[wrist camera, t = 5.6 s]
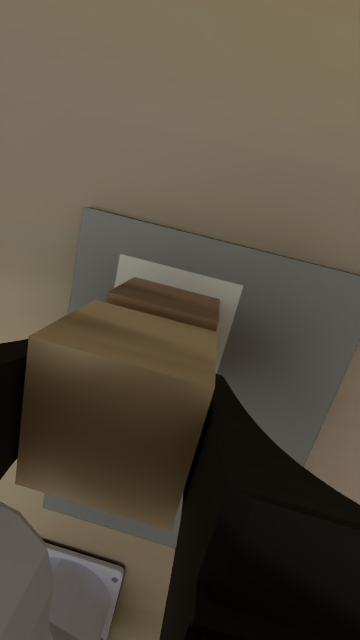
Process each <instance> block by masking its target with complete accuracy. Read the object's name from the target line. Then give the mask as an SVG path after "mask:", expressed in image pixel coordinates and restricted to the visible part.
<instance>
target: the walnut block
mask: <svg viewBox="0 0 360 640" xmlns="http://www.w3.org/2000/svg"><path fill="white" fill-rule="evenodd" d="M106 303H109V304H113V305H117V306H121V307H125V308H128V309H132V310H136V311H140V312H143V313H147V314H151V315H155V316H158V317H162V318H166V319H170V320H174V321H177V322H181V323H185V324H189V325H192V326H196V327H200V328H204V329H207V330H211V331H215V332H216V330H217V326H218V323H219V304H220V299H217V298H214V297H210V296H206V295H202V294H198V293H194V292H191V291H187V290H183V289H179V288H175V287H171V286H168V285H164V284H160V283H156V282H152V281H148V280H145V279H141V278H137V277H133V278H132V279H130V280H128V281H126V282H124V283H123V284H121V285H119V286H117V287H115V288H114V289H112V290H110V291H108V292H107V298H106Z"/></svg>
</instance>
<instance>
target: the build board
mask: <svg viewBox="0 0 360 640" xmlns="http://www.w3.org/2000/svg"><path fill="white" fill-rule="evenodd" d="M133 277H137V278H141V279H145V280H148V281H152V282H156V283H160V284H164V285H168V286H171V287H175V288H179V289H183V290H187V291H191V292H194V293H198V294H202V295H206V296H210V297H214V298H217V299H220V304H219V323H218V326H217V330H216V332H217V353H216V374H219V375H222V376H223V377H224V378H225V380H226V381H227V383H228V385H229V386H230V388H231V389H232V391H233V393H234V394H235V396H236V397H237V399H238V400H239V401H240V403H241V404H242V406H243V407H244V408H245V410H246V411H247V412H248V414H249V415H250V416H251V417H252V419H253V420H254V421H255V422H256V423H257V425H258V426H259V427H260V428H261V429H262V430H263V431H264V432H265V433H266V434H267V435H268V436H269V437H270V438H271V439H272V440H273V441H274V442H275V443H276V444H277V445H278V446H279V447H280V448H281V449H282V450H283V451H284V452H286V453H287V454H288V455H289V456H290V457H292V458H293V459H294V460H295V461H296V462H298V463H299V464H300V465H301V466H303V467H304V465H305V462H306V460H307V458H308V456H309V453H310V451H311V449H312V447H313V444H314V442H315V440H316V438H317V435H318V433H319V431H320V429H321V426H322V424H323V422H324V420H325V417H326V415H327V413H328V411H329V408H330V406H331V404H332V401H333V399H334V397H335V395H336V392H337V390H338V388H339V386H340V383H341V381H342V379H343V377H344V374H345V372H346V370H347V368H348V365H349V363H350V361H351V359H352V356H353V354H354V352H355V350H356V347H357V345H358V343H359V341H360V275H356V274H352V273H348V272H344V271H340V270H336V269H332V268H328V267H324V266H320V265H316V264H312V263H308V262H304V261H300V260H296V259H292V258H288V257H284V256H280V255H276V254H272V253H268V252H264V251H260V250H256V249H252V248H248V247H244V246H240V245H236V244H232V243H229V242H225V241H221V240H217V239H213V238H209V237H205V236H201V235H197V234H193V233H189V232H185V231H181V230H177V229H173V228H169V227H165V226H161V225H157V224H153V223H149V222H145V221H141V220H137V219H133V218H129V217H125V216H121V215H117V214H113V213H109V212H105V211H101V210H97V209H93V208H89V207H83V208H82V215H81V223H80V230H79V238H78V245H77V253H76V261H75V268H74V276H73V283H72V291H71V298H70V306H69V314H70V313H71V312H73V311H75V310H77V309H79V308H80V307H82V306H84V305H86V304H88V303H89V302H91V301H93V300H98V301H102V302H106V298H107V292H108V291H110V290H112V289H114V288H115V287H117V286H119V285H121V284H123V283H124V282H126V281H128V280H130V279H132V278H133ZM182 502H183V494H182V498H181V501H180V504H179V508H178V511H177V514H176V517H175V521H174V524H173V527H172V531H169V530H166V529H163V528H159V527H156V526H153V525H149V524H146V523H143V522H140V521H136V520H133V519H130V518H126V517H123V516H120V515H117V514H113V513H110V512H107V511H103V510H100V509H97V508H93V507H90V506H87V505H84V504H80V503H77V502H74V501H70V500H67V499H64V498H61V497H57V496H54V495H51V494H47V493H45V495H44V503H43V508H46V509H49V510H52V511H56V512H59V513H62V514H65V515H69V516H72V517H75V518H78V519H82V520H85V521H88V522H91V523H95V524H98V525H101V526H104V527H108V528H111V529H114V530H117V531H121V532H124V533H127V534H130V535H134V536H137V537H140V538H143V539H147V540H150V541H153V542H156V543H160V544H163V545H166V546H169V547H173V548H176V544H177V538H178V532H179V526H180V520H181V512H182Z"/></svg>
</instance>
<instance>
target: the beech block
mask: <svg viewBox="0 0 360 640" xmlns="http://www.w3.org/2000/svg"><path fill="white" fill-rule="evenodd" d="M216 353H217V332H215V331H211V330H207V329H204V328H200V327H196V326H192V325H189V324H185V323H181V322H177V321H174V320H170V319H166V318H162V317H158V316H155V315H151V314H147V313H143V312H140V311H136V310H132V309H128V308H125V307H121V306H117V305H113V304H109V303H106V302H102V301H98V300H93V301H91V302H89V303H88V304H86V305H84V306H82V307H80V308H79V309H77V310H75V311H73V312H71V313H70V314H68V315H66V316H64V317H62V318H61V319H59V320H57V321H55V322H54V323H52V324H50V325H48V326H46V327H45V328H43V329H41V330H39V331H37V332H36V333H34V334H32V335H30V336H29V340H28V351H27V361H26V372H25V383H24V394H23V405H22V416H21V427H20V438H19V448H18V459H17V470H16V481H15V484H18V485H21V486H24V487H28V488H31V489H34V490H37V491H41V492H44V493H47V494H51V495H54V496H57V497H61V498H64V499H67V500H70V501H74V502H77V503H80V504H84V505H87V506H90V507H93V508H97V509H100V510H103V511H107V512H110V513H113V514H117V515H120V516H123V517H126V518H130V519H133V520H136V521H140V522H143V523H146V524H149V525H153V526H156V527H159V528H163V529H166V530H169V531H172V527H173V524H174V521H175V517H176V514H177V511H178V508H179V504H180V501H181V498H182V494H183V491H184V488H185V484H186V481H187V478H188V475H189V471H190V468H191V465H192V461H193V458H194V455H195V452H196V448H197V445H198V442H199V438H200V435H201V432H202V428H203V425H204V422H205V419H206V415H207V412H208V409H209V405H210V402H211V399H212V396H213V392H214V389H215V375H216Z"/></svg>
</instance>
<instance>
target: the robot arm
mask: <svg viewBox="0 0 360 640" xmlns="http://www.w3.org/2000/svg"><path fill="white" fill-rule="evenodd" d="M28 340H29V339H25V340H20V341H14V342H8V343H1V344H0V480H1V478H2V477H3V476H4V474H5V473H6V471H7V470H8V469H9V467H10V466H11V465H12V464H13V463H14V461H15V460H16V459H17V458H18V448H19V438H20V427H21V416H22V405H23V394H24V383H25V372H26V361H27V351H28ZM123 575H124V570H123V568H122V567H121V566H119V565H115V564H112V563H109V562H106V561H103V560H100V559H96V558H93V557H90V556H87V555H84V554H80V553H77V552H74V551H71V550H68V549H64V548H61V547H58V546H55V545H52V544H49V543H45V542H44V541H43V539H42V538H41V537H40V536H39V535H38V533H37V532H36V531H35V530H34V529H33V527H32V526H31V525H30V524H29V523H28V521H27V520H26V519H25V518H24V517H23V516H22V514H21V513H20V512H19V511H17V510H15V509H13V508H11V507H9V506H7V505H6V504H4V503H2V502H0V640H107V637H108V633H109V629H110V625H111V621H112V617H113V614H114V610H115V606H116V602H117V598H118V594H119V590H120V586H121V582H122V579H123ZM160 640H360V505H359V504H357V503H356V502H354V501H352V500H351V499H349V498H347V497H346V496H344V495H342V494H341V493H339V492H338V491H336V490H335V489H333V488H332V487H330V486H329V485H327V484H326V483H324V482H323V481H322V480H320V479H319V478H317V477H316V476H314V475H313V474H312V473H310V472H309V471H308V470H306V469H305V468H304V467H303V466H301V465H300V464H299V463H298V462H296V461H295V460H294V459H293V458H292V457H290V456H289V455H288V454H287V453H286V452H284V451H283V450H282V449H281V448H280V447H279V446H278V445H277V444H276V443H275V442H274V441H273V440H272V439H271V438H270V437H269V436H268V435H267V434H266V433H265V432H264V431H263V430H262V429H261V428H260V427H259V426H258V425H257V423H256V422H255V421H254V420H253V419H252V417H251V416H250V415H249V414H248V412H247V411H246V410H245V408H244V407H243V406H242V404H241V403H240V401H239V400H238V399H237V397H236V396H235V394H234V393H233V391H232V389H231V388H230V386H229V385H228V383H227V381H226V380H225V378H224V377H223V376H222V375H219V374H216V375H215V389H214V392H213V396H212V399H211V402H210V405H209V409H208V412H207V415H206V419H205V422H204V425H203V428H202V432H201V435H200V438H199V442H198V445H197V448H196V452H195V455H194V458H193V461H192V465H191V468H190V471H189V475H188V478H187V481H186V484H185V488H184V491H183V502H182V512H181V520H180V526H179V532H178V538H177V544H176V550H175V556H174V562H173V567H172V573H171V579H170V585H169V590H168V596H167V601H166V607H165V612H164V618H163V623H162V629H161V635H160Z"/></svg>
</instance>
